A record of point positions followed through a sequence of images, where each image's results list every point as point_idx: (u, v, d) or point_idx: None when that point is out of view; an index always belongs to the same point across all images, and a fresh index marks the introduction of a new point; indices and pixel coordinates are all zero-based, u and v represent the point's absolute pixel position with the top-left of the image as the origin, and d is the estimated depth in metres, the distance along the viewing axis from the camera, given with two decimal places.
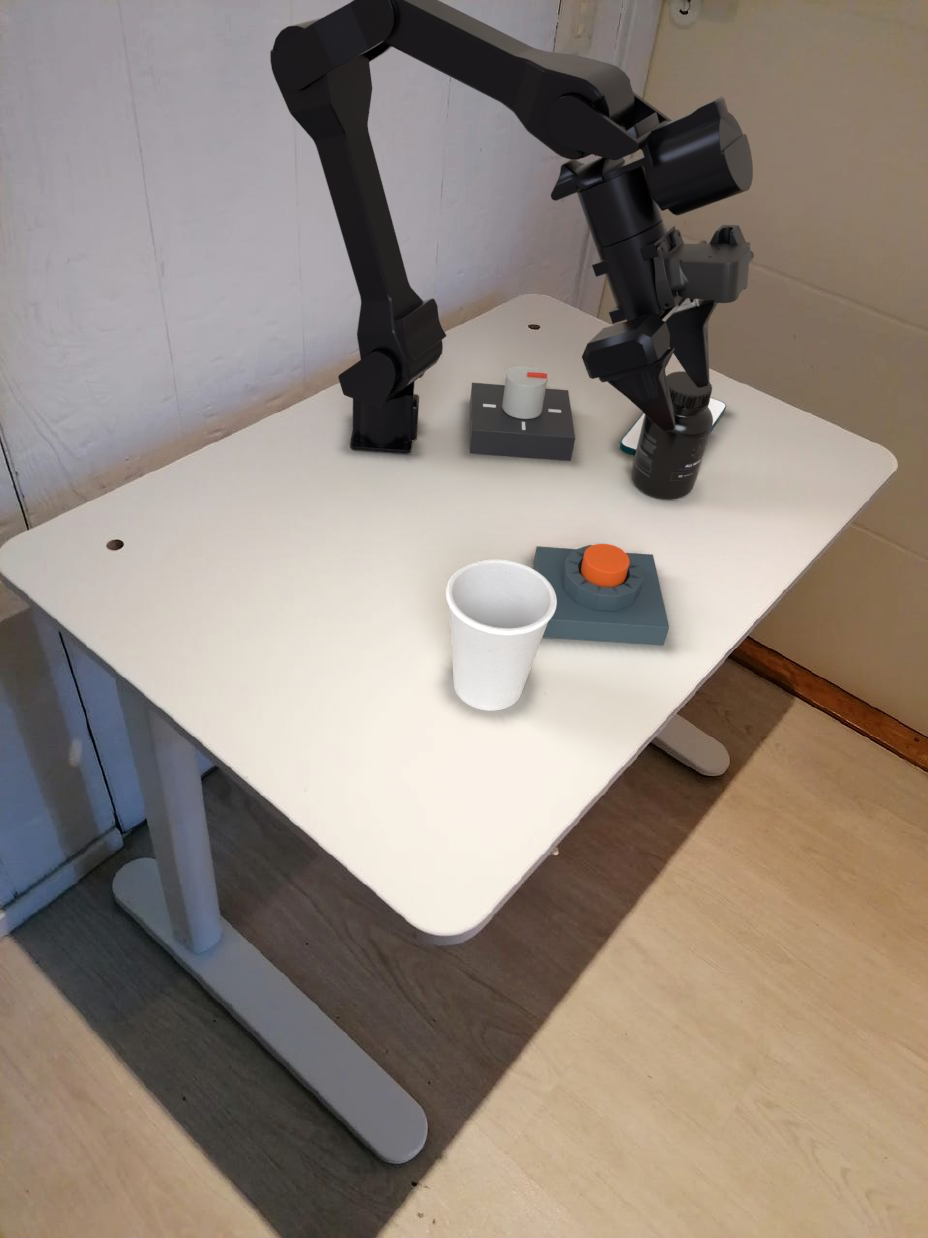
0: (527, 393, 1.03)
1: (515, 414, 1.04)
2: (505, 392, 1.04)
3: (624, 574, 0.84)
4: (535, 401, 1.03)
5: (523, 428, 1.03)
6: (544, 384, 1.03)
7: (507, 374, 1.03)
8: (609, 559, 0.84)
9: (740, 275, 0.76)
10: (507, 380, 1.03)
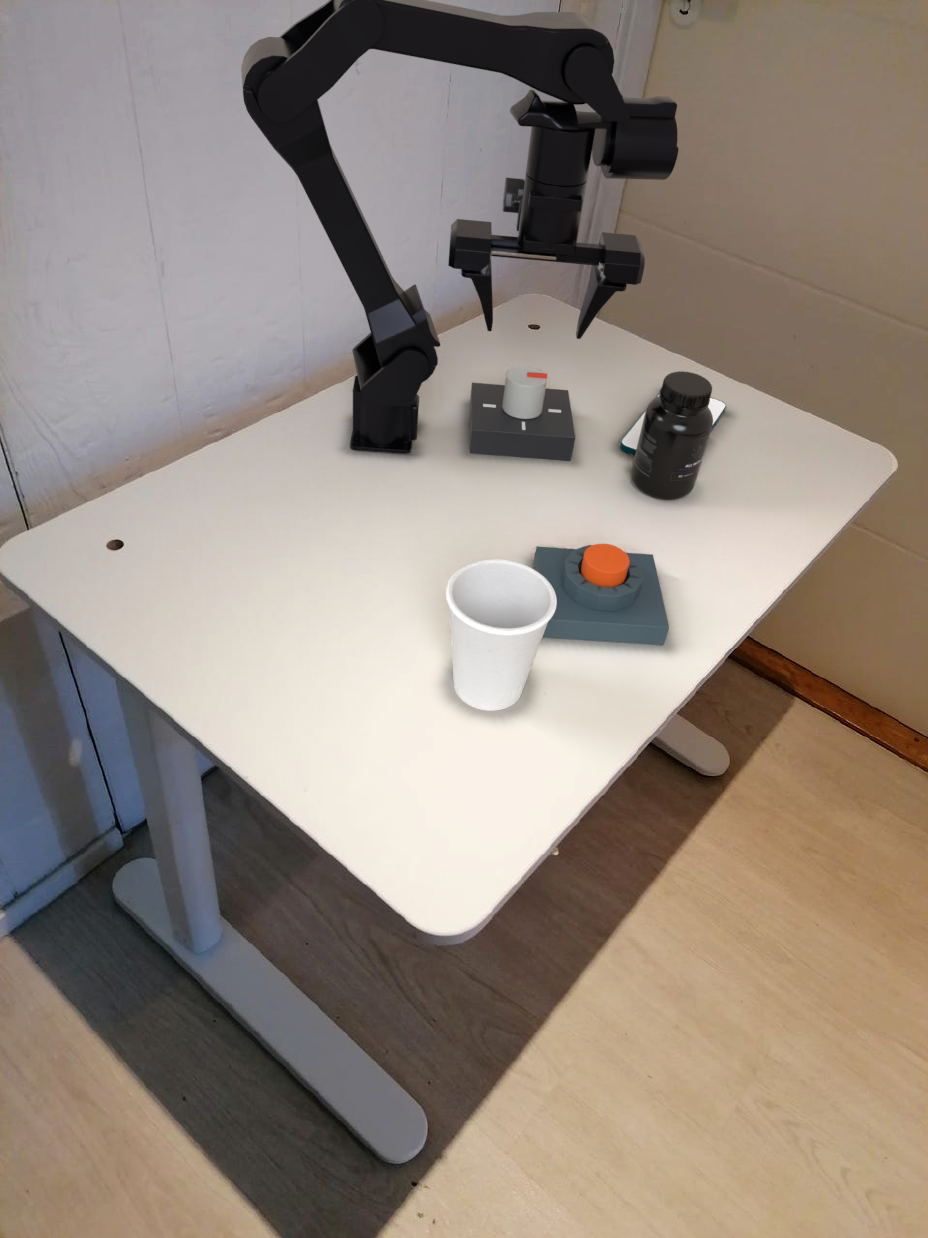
0: (527, 393, 1.03)
1: (515, 414, 1.04)
2: (505, 392, 1.04)
3: (624, 574, 0.84)
4: (535, 401, 1.03)
5: (523, 428, 1.03)
6: (544, 384, 1.03)
7: (507, 374, 1.03)
8: (609, 559, 0.84)
9: None
10: (507, 380, 1.03)
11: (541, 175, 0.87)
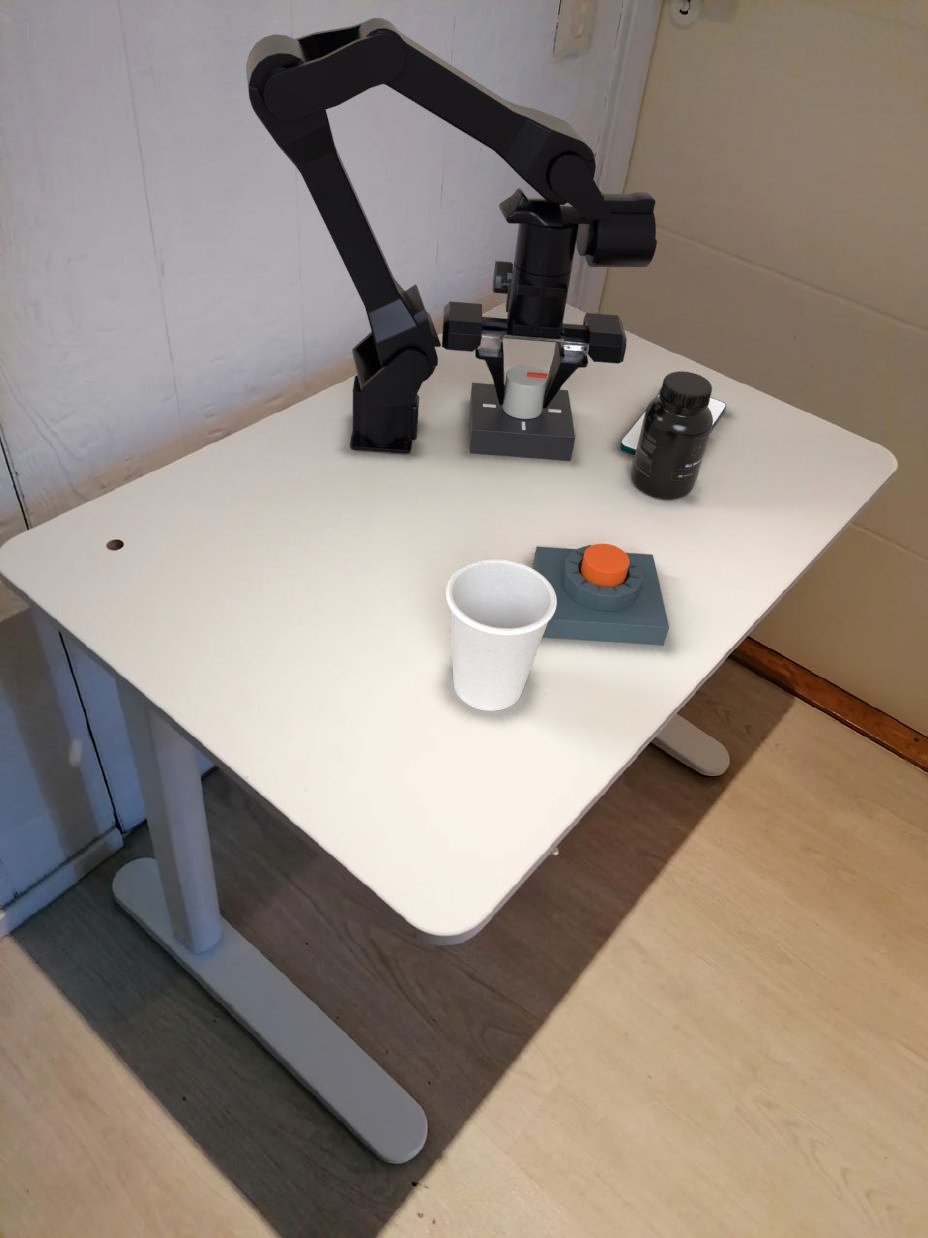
0: (527, 393, 1.03)
1: (515, 414, 1.04)
2: (505, 392, 1.04)
3: (624, 574, 0.84)
4: (535, 401, 1.03)
5: (523, 428, 1.03)
6: (544, 384, 1.03)
7: (507, 374, 1.03)
8: (609, 559, 0.84)
9: None
10: (507, 380, 1.03)
11: (528, 266, 0.93)
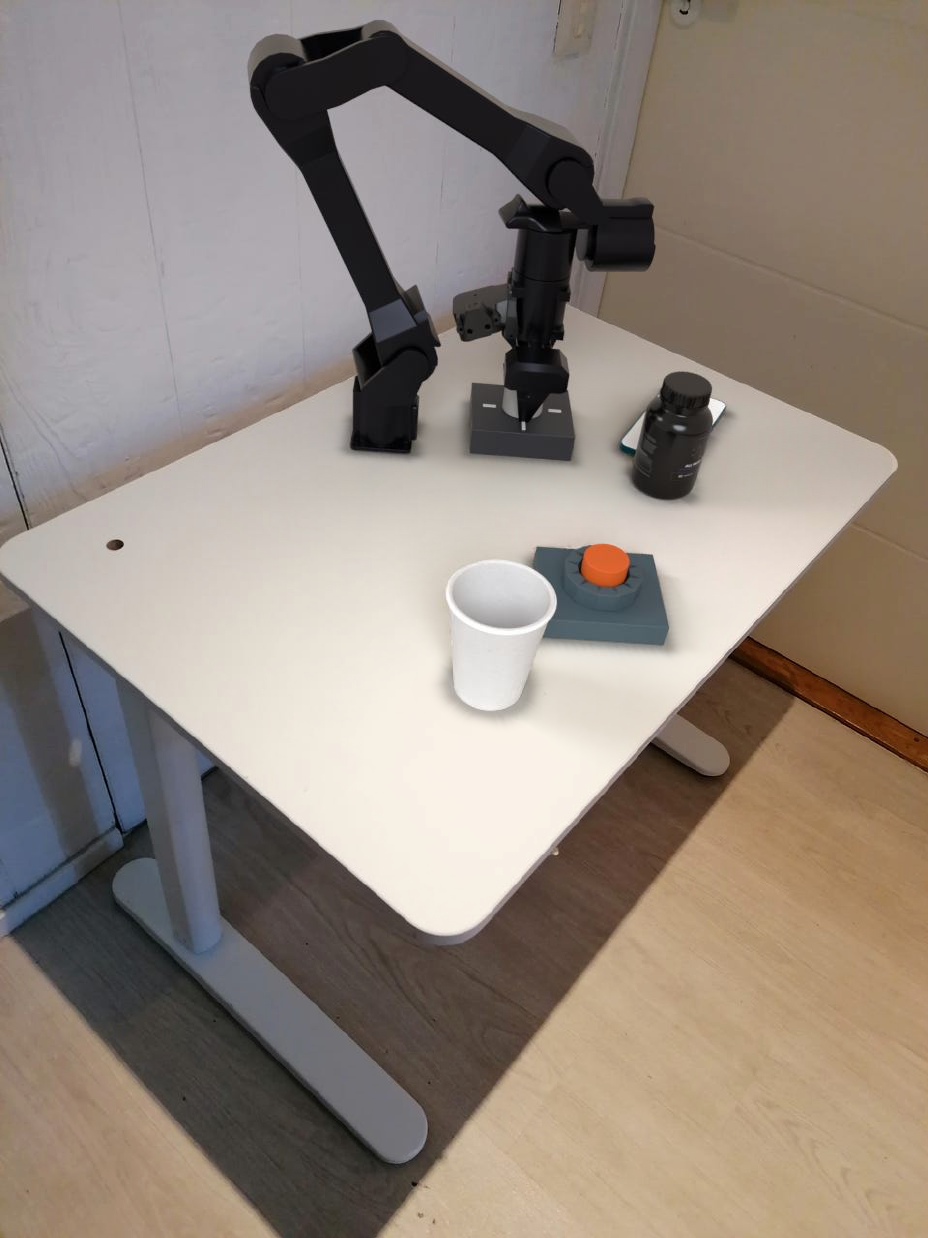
0: None
1: (541, 411, 1.05)
2: None
3: (624, 574, 0.84)
4: None
5: (523, 428, 1.03)
6: None
7: None
8: (609, 559, 0.84)
9: None
10: None
11: (528, 271, 0.93)
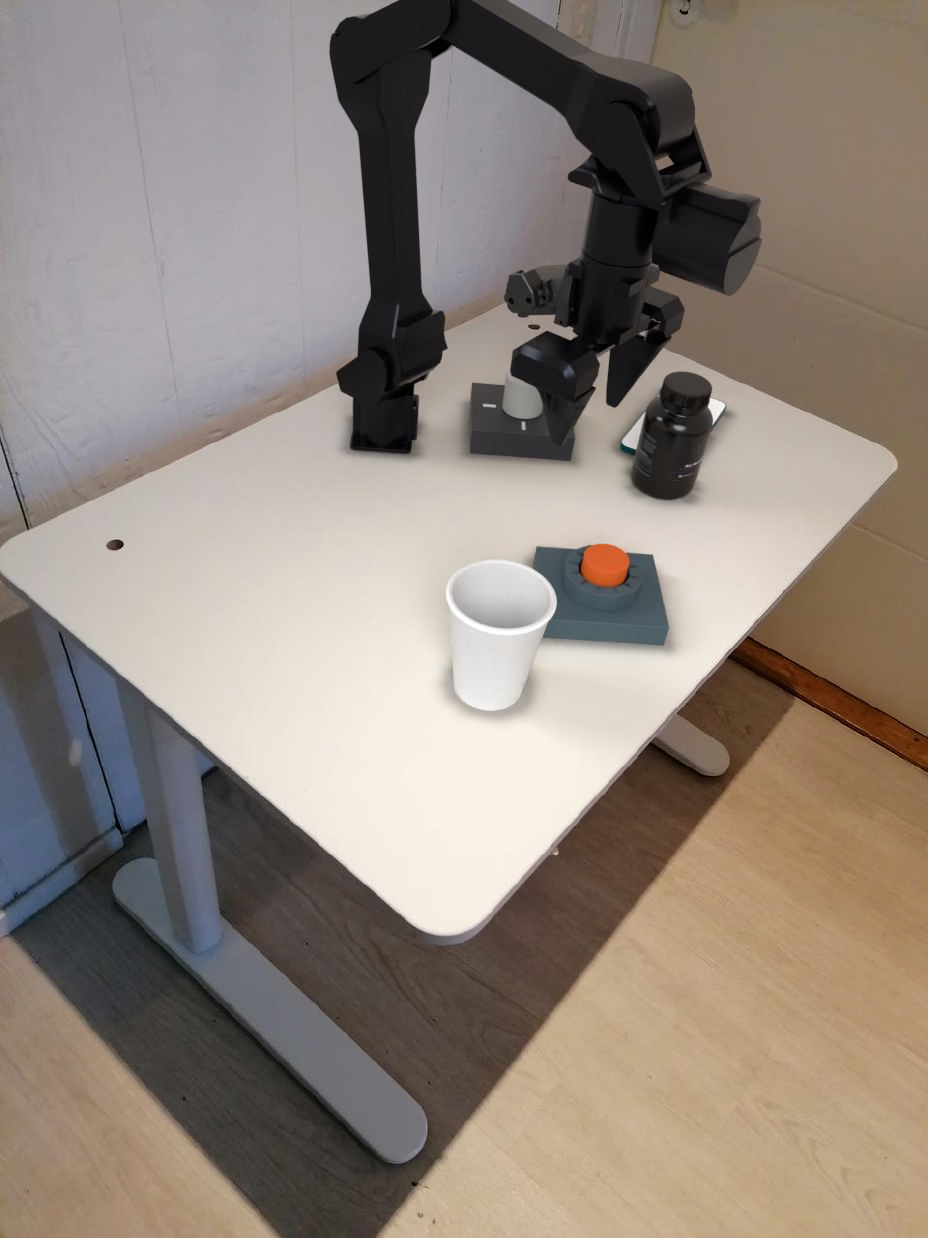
0: None
1: (541, 411, 1.05)
2: (531, 401, 1.03)
3: (624, 574, 0.84)
4: None
5: (523, 428, 1.03)
6: None
7: (528, 385, 1.02)
8: (609, 559, 0.84)
9: None
10: (534, 388, 1.02)
11: (584, 243, 0.76)
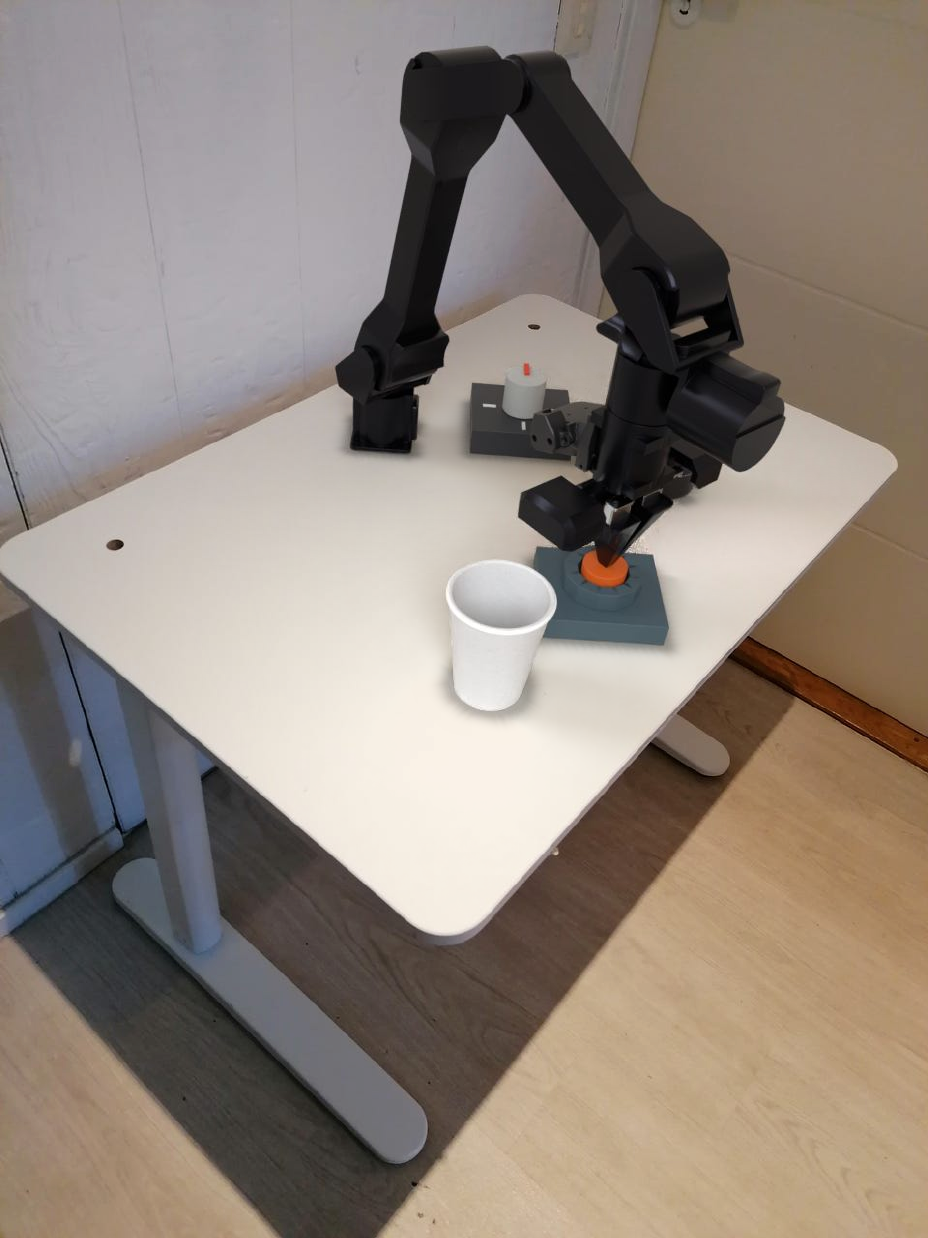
0: None
1: None
2: (531, 401, 1.03)
3: (622, 580, 0.85)
4: None
5: (523, 428, 1.03)
6: None
7: (528, 385, 1.02)
8: None
9: None
10: (534, 388, 1.02)
11: (607, 394, 0.74)
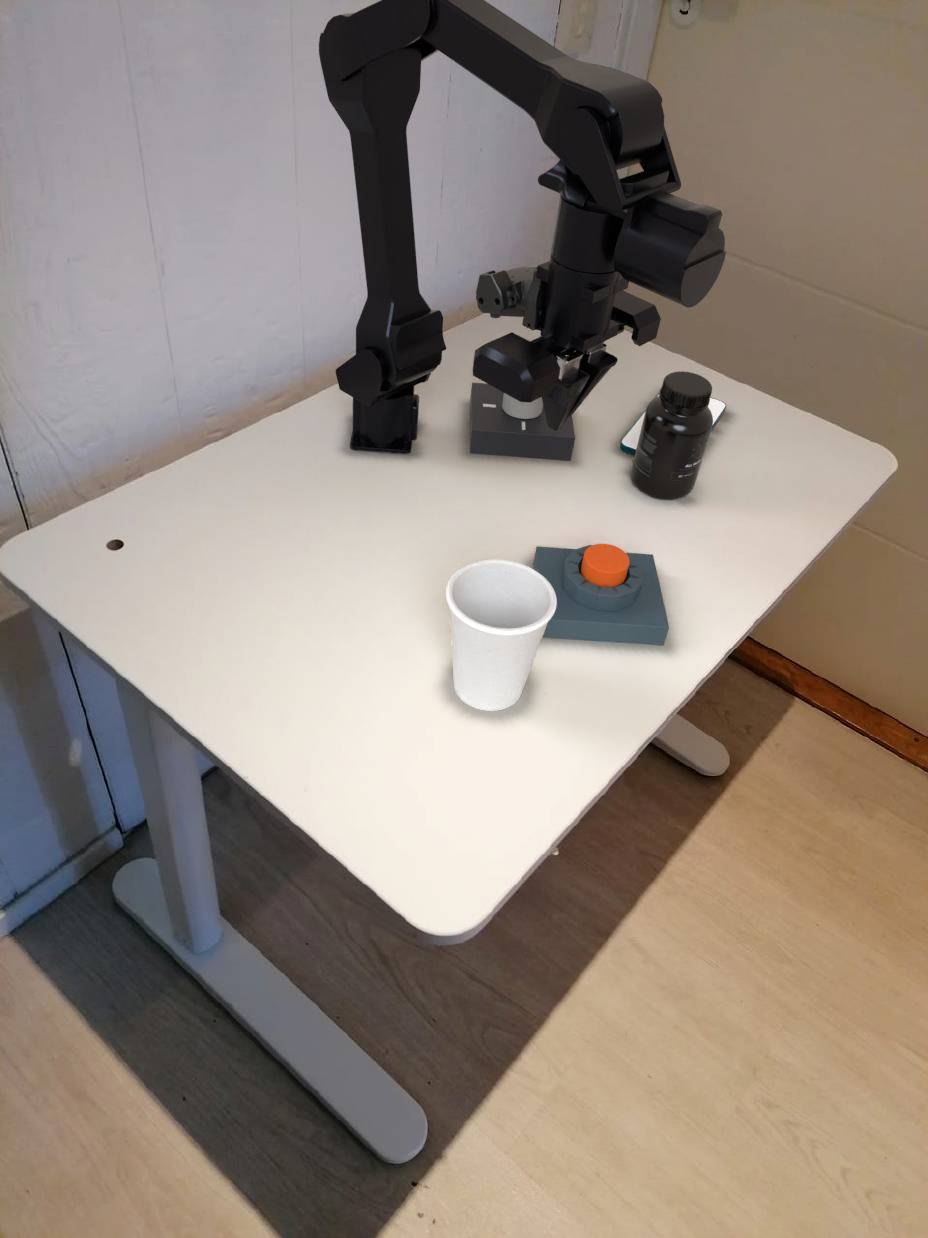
0: None
1: (541, 411, 1.05)
2: None
3: (624, 574, 0.84)
4: None
5: (523, 428, 1.03)
6: None
7: None
8: (609, 559, 0.84)
9: None
10: None
11: (552, 247, 0.76)
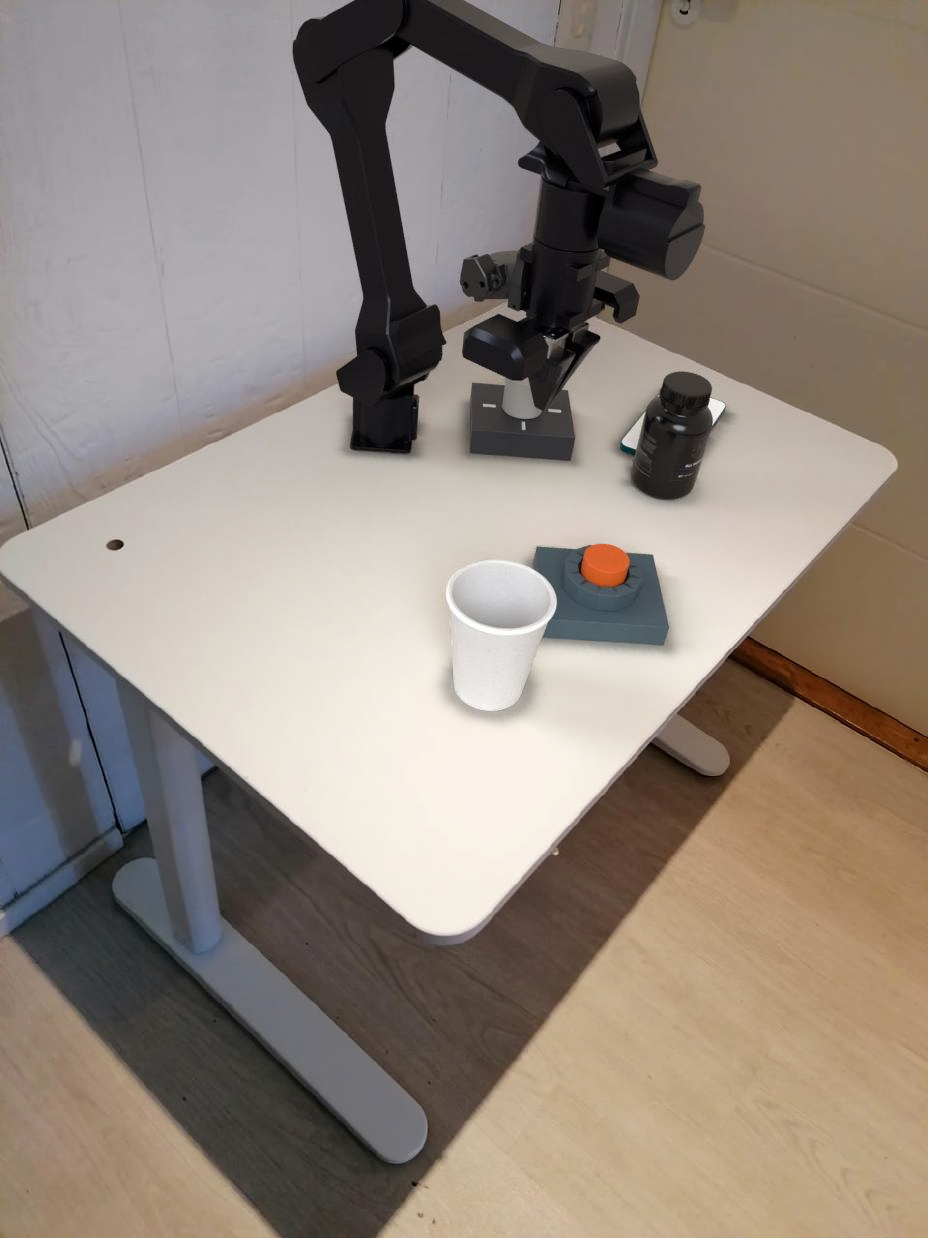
0: None
1: (541, 411, 1.05)
2: (531, 401, 1.03)
3: (624, 574, 0.84)
4: None
5: (523, 428, 1.03)
6: None
7: (528, 385, 1.02)
8: (609, 559, 0.84)
9: None
10: None
11: (534, 228, 0.78)
